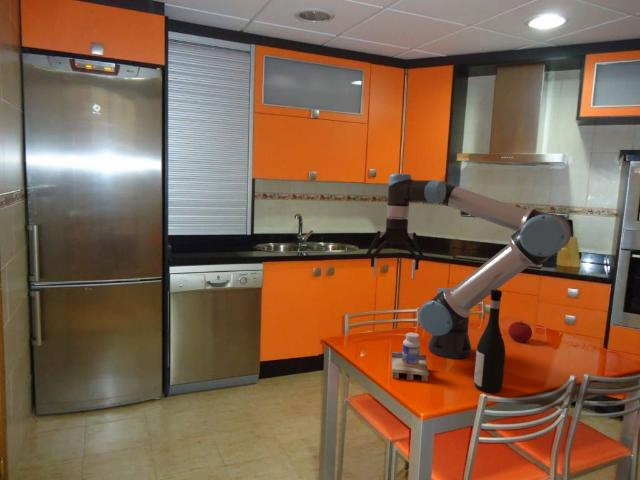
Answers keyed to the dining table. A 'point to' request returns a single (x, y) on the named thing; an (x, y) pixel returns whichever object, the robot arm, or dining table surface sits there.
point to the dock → (400, 368)
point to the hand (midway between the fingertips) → (393, 277)
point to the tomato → (520, 331)
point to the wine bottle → (491, 351)
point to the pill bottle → (411, 350)
